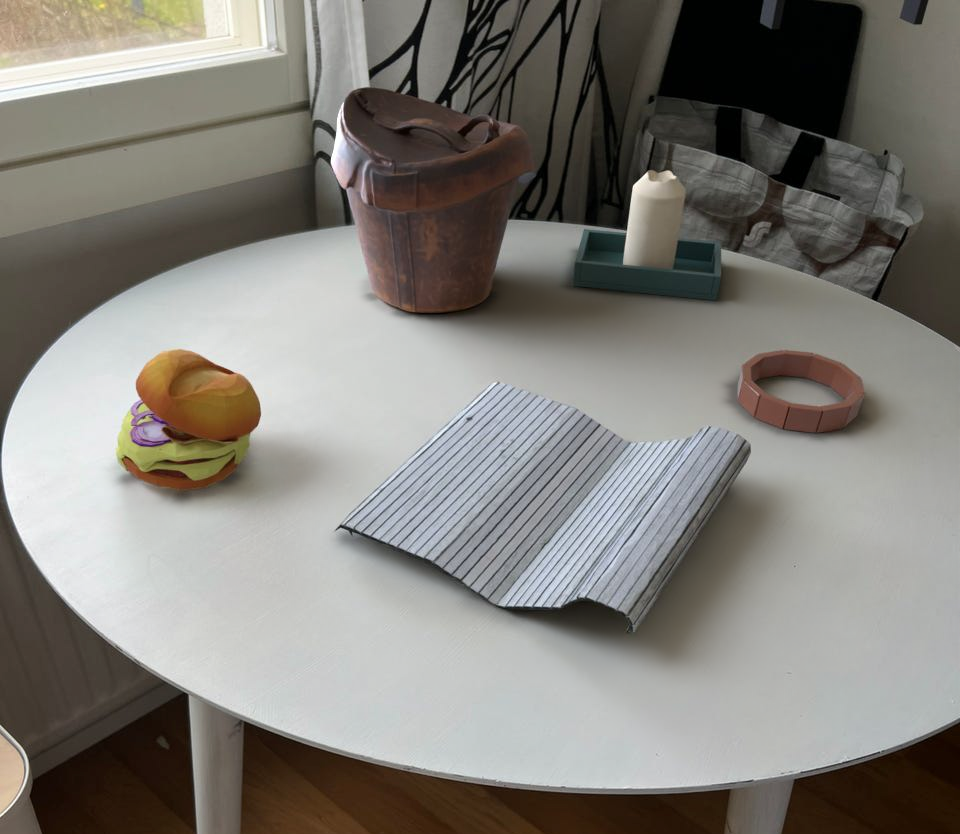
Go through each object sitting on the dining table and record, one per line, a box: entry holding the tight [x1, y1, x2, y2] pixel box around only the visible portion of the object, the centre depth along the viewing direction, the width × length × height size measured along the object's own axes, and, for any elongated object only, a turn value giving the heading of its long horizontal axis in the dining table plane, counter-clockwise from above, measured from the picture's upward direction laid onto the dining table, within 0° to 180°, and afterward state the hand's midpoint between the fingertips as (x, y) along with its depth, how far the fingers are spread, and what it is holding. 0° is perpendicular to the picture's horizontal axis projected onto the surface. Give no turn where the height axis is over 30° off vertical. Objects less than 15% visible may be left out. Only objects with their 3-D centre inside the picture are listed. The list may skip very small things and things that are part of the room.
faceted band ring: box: [736, 349, 866, 434], centre depth 86 cm, size 11×11×2 cm
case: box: [330, 86, 537, 314], centre depth 95 cm, size 18×20×18 cm
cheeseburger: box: [115, 348, 262, 491], centre depth 74 cm, size 10×11×10 cm
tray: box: [572, 228, 722, 302], centre depth 104 cm, size 15×9×3 cm, turn 80°
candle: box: [623, 169, 687, 270], centre depth 101 cm, size 6×6×10 cm
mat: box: [333, 381, 752, 634], centre depth 72 cm, size 23×24×5 cm
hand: (840, 24), depth 86 cm, fingers open, 13 cm apart
